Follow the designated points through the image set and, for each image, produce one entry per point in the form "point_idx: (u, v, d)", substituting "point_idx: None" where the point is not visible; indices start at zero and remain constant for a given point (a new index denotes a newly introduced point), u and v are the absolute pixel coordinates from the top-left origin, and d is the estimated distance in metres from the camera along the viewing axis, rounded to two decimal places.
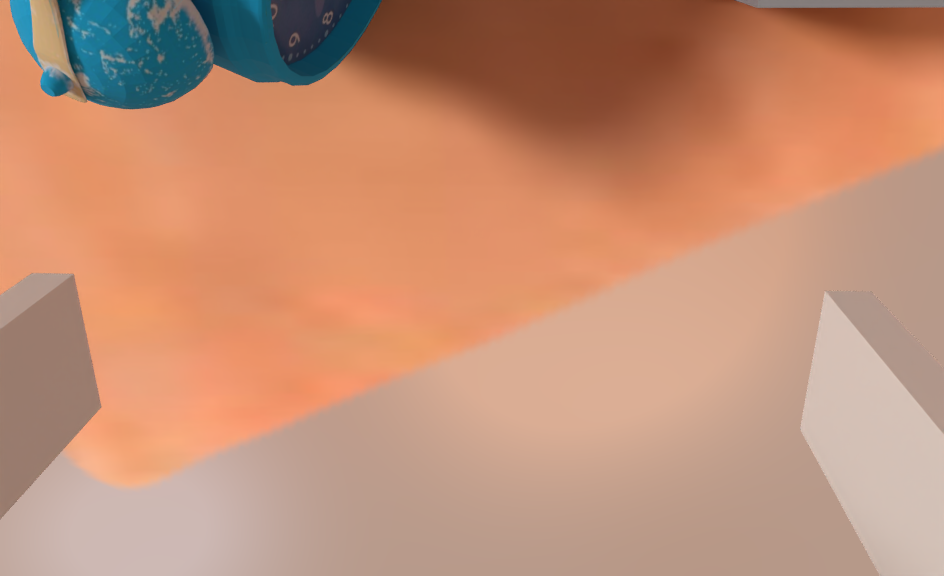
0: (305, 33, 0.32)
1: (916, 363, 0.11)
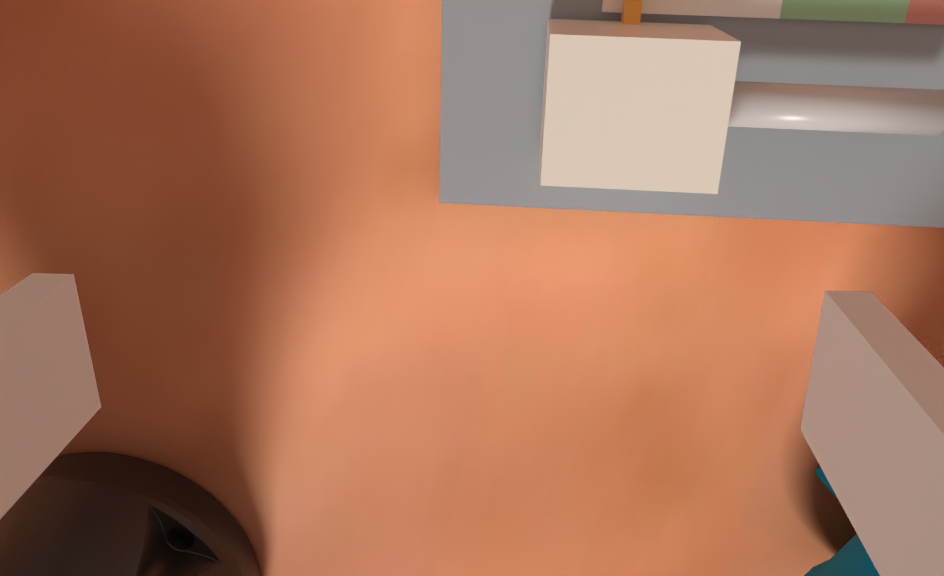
0: None
1: (916, 363, 0.11)
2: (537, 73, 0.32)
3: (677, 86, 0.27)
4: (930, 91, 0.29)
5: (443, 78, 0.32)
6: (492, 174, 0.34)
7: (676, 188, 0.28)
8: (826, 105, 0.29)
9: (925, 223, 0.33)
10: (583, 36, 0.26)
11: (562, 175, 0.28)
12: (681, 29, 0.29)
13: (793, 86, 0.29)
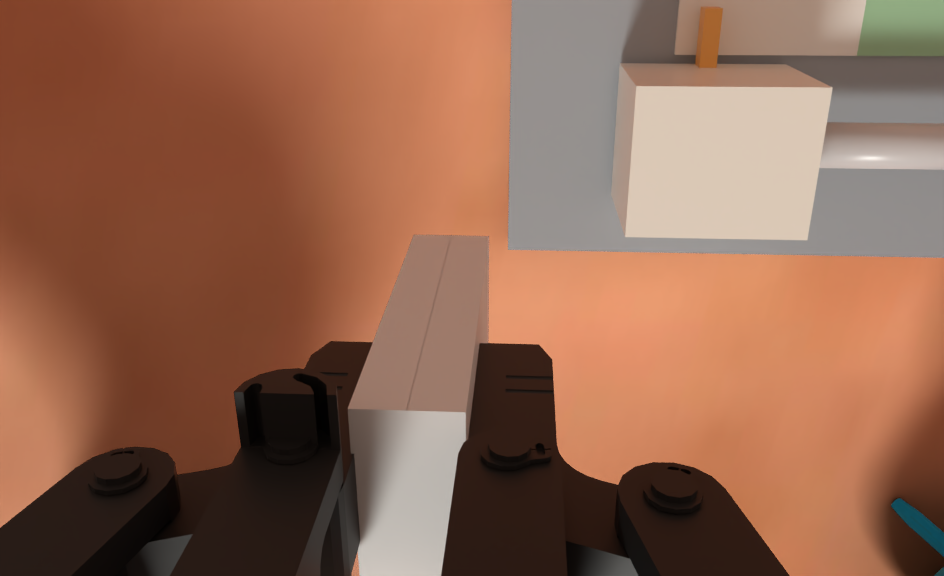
0: None
1: (462, 285, 0.14)
2: (608, 117, 0.32)
3: (766, 134, 0.26)
4: None
5: (512, 125, 0.32)
6: (562, 220, 0.33)
7: (765, 235, 0.28)
8: (912, 144, 0.28)
9: None
10: (670, 87, 0.26)
11: (647, 226, 0.28)
12: (761, 72, 0.28)
13: (877, 126, 0.29)
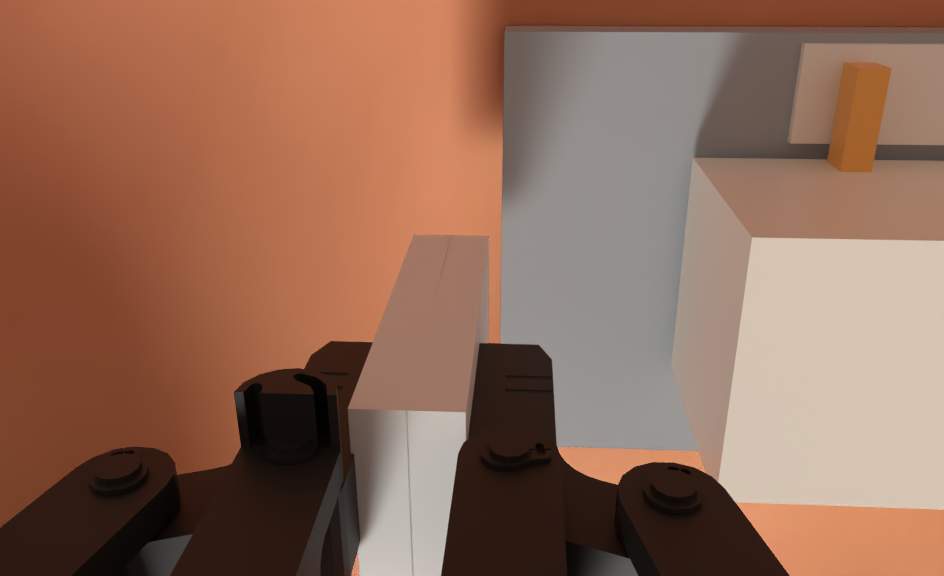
0: None
1: (462, 285, 0.14)
2: (669, 245, 0.19)
3: None
4: None
5: (505, 256, 0.19)
6: (588, 402, 0.20)
7: None
8: None
9: None
10: (821, 240, 0.13)
11: (760, 484, 0.15)
12: None
13: None
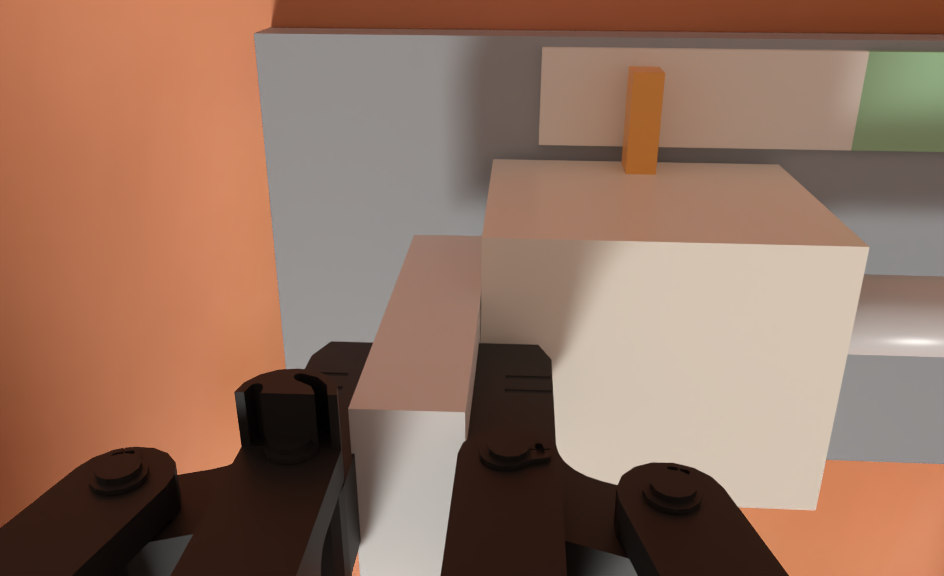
0: None
1: (462, 285, 0.14)
2: None
3: (739, 328, 0.13)
4: None
5: (278, 254, 0.19)
6: None
7: (737, 501, 0.15)
8: None
9: None
10: (548, 241, 0.13)
11: None
12: (734, 190, 0.16)
13: (942, 287, 0.16)
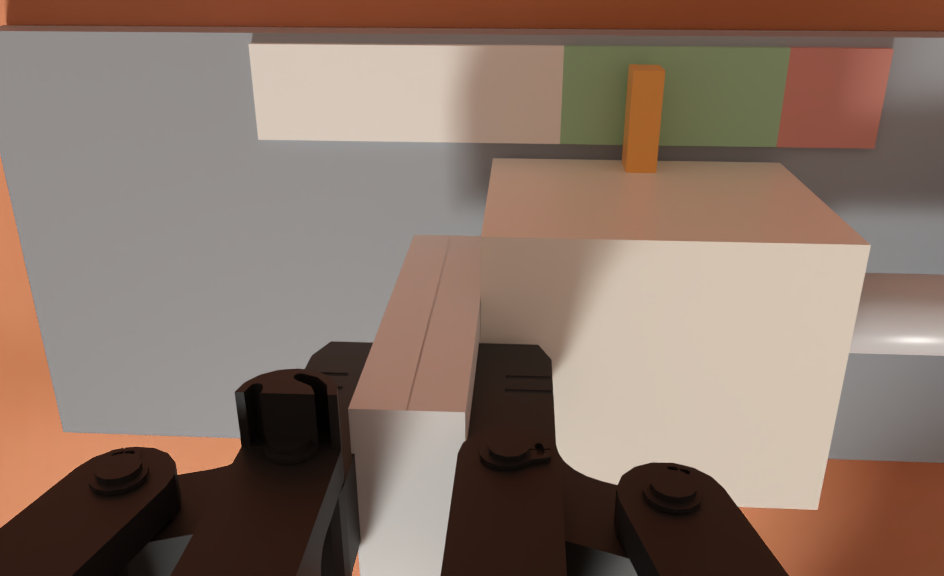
0: None
1: (462, 285, 0.14)
2: (174, 237, 0.19)
3: (740, 327, 0.13)
4: None
5: (25, 248, 0.19)
6: (136, 390, 0.21)
7: (738, 501, 0.15)
8: None
9: (840, 453, 0.20)
10: (548, 240, 0.13)
11: None
12: (735, 188, 0.16)
13: None
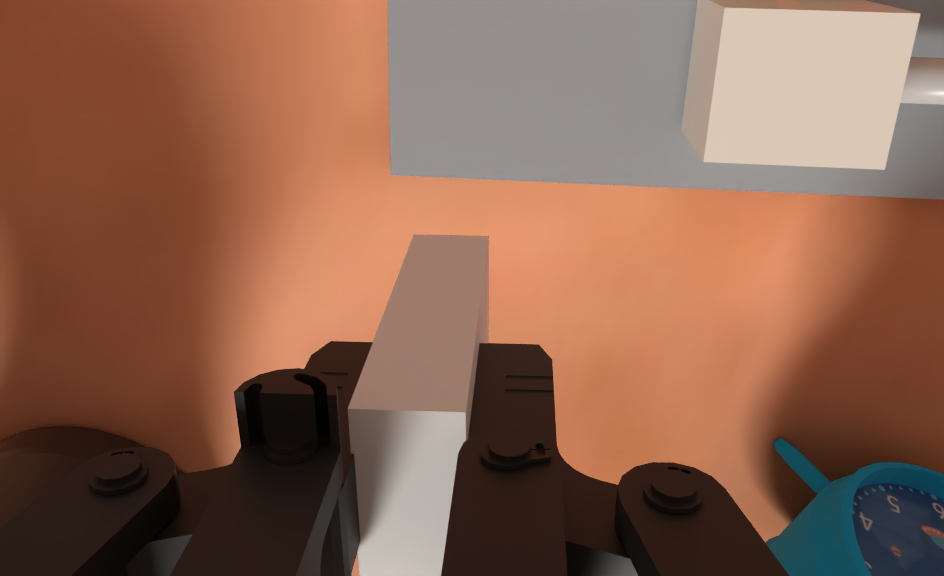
0: None
1: (462, 285, 0.14)
2: (483, 44, 0.32)
3: (851, 59, 0.26)
4: None
5: (390, 50, 0.33)
6: (442, 146, 0.34)
7: (842, 164, 0.28)
8: None
9: (873, 192, 0.33)
10: (758, 9, 0.26)
11: (726, 151, 0.28)
12: (843, 3, 0.29)
13: None
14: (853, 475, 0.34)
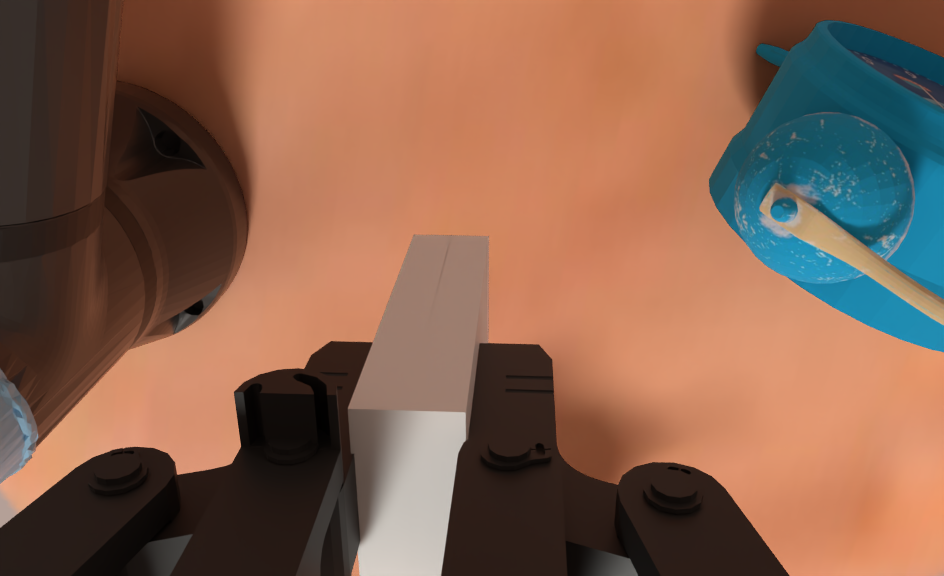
0: None
1: (462, 285, 0.14)
2: None
3: None
4: None
5: None
6: None
7: None
8: None
9: None
10: None
11: None
12: None
13: None
14: None
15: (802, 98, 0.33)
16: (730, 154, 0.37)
